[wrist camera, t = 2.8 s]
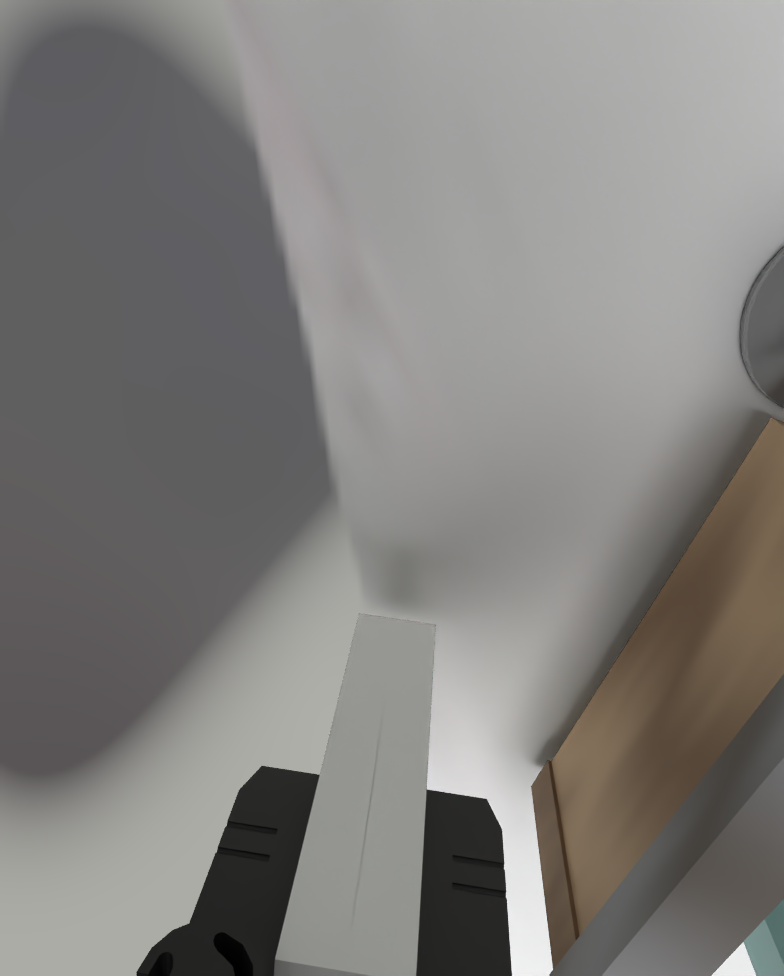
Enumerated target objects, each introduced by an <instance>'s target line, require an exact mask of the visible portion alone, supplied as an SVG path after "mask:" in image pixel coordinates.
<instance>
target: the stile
mask: <svg viewBox="0 0 784 976" xmlns="http://www.w3.org/2000/svg"><path fill="white" fill-rule="evenodd" d="M744 944H745V947H746V949H747V952H748V955H749V957H750V960H751V963H752V965H753V968H754V970H755V973H756V976H784V899H783V900H782V901H781V902H780V903H779V904H778V905H777V907H776V908H775V909H774V910H773V911H772V912H771V913H770V914H769V915H768V916H767V917H766V918H765V919H764V920H763V921H762V922H761V923H760V924H759V926H758V927H757V928H756V929H755V930H754V931H753V932H752V933H751V934H750V935H749V936H748V937H747V938H746V939H745V940H744Z"/></svg>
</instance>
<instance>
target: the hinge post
mask: <svg viewBox="0 0 784 976" xmlns="http://www.w3.org/2000/svg"><path fill="white" fill-rule="evenodd" d="M740 344H741V352H742V356H743V360H744V364H745V366H746V368H747V371H748V373H749V375H750V377H751V378H752V380H753V381H754V383H755V384H756V386H757V387H758V388H759V389H760V390H761V391H762V392H763V393H764V394H765V395H766V396H767V397H769V398H770V399H771V400H772V401H774V402H775V403H777V404H778V405H780V406H781V407H783V408H784V247H783V248H782V249H781V250H780V251H779V252H778V253H777V254H776V255H775V256H774V257H773V258H772V259H771V260H770V261H769V263H768V264H767V265H766V267H765V268H764V269H763V271H762V272H761V274H760V275H759V277H758V279H757V280H756V282H755V284H754V285H753V287H752V289H751V292H750V294H749V296H748V299H747V301H746V304H745V308H744V311H743V315H742V321H741V327H740Z"/></svg>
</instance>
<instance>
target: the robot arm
mask: <svg viewBox="0 0 784 976" xmlns="http://www.w3.org/2000/svg"><path fill="white" fill-rule="evenodd" d="M435 628H436V625H433V624H426V623H419V622H413V621H406V620H399V619H392V618H386V617H379V616H372V615H365V614H359V616H358V620H357V624H356V628H355V632H354V636H353V640H352V645H351V649H350V653H349V657H348V661H347V665H346V669H345V673H344V677H343V682H342V686H341V690H340V694H339V698H338V702H337V706H336V710H335V715H334V719H333V723H332V727H331V731H330V735H329V739H328V743H327V747H326V751H325V755H324V760H323V764H322V768H321V772H320V775H317V774H311V773H304V772H298V771H292V770H285V769H279V768H272V767H266V766H261V767H260V769H259V770H258V771H257V772H256V773H255V774H254V775H253V776H252V777H251V778H250V779H249V780H248V781H247V782H246V784H244V785H243V787H242V788H241V789H240V790H239V792H238V795H237V797H236V800H235V803H234V805H233V808H232V811H231V814H230V816H229V819H228V823H227V826H226V827H225V829H224V832H223V835H222V838H221V840H220V843H219V846H218V850H217V853H216V854H215V856H214V859H213V862H212V865H211V867H210V870H209V872H208V875H207V878H206V880H205V883H204V886H203V889H202V891H201V894H200V897H199V899H198V902H197V904H196V907H195V910H194V913H193V915H192V918H191V920H190V923H189V924H187V925H185V926H182V927H179V928H177V929H174V930H172V931H171V932H170V933H169V934H168V935H167V936H165V937H164V938H163V939H162V940H161V941H159V942H158V943H157V944H156V945H155V946H154V947H152V948H151V950H150V951H149V953H148V955H147V956H146V958H145V960H144V961H143V963H142V964H141V966H140V967H139V969H138V971H137V976H512V971H511V956H510V942H509V927H508V912H507V898H506V883H505V870H504V853H503V838H502V829H501V827H500V825H499V823H498V821H497V819H496V817H495V815H494V813H493V811H492V809H491V807H490V805H489V803H488V801H487V799H483V798H477V797H470V796H464V795H457V794H451V793H445V792H438V791H432V790H427V772H428V754H429V736H430V718H431V700H432V682H433V664H434V646H435Z"/></svg>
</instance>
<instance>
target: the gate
mask: <svg viewBox="0 0 784 976" xmlns="http://www.w3.org/2000/svg"><path fill="white" fill-rule="evenodd" d="M531 788H532V796H533V804H534V813H535V821H536V829H537V838H538V846H539V854H540V863H541V871H542V880H543V888H544V896H545V905H546V913H547V921H548V930H549V938H550V946H551V955H552V963H553V971H552V972H551V973H550V976H711V975H712V974H713V973H714V972H715V971H716V970H717V969H718V968H719V967H720V966H721V965H722V964H723V962H724V961H725V960H726V959H727V958H728V957H729V956H730V955H731V954H732V953H733V952H734V951H735V950H736V949H737V948H738V947H739V946H740V945H741V943H742V942H743V941H744V940H745V939H746V938H747V937H748V936H749V935H750V934H751V933H752V932H753V931H754V930H755V929H756V928H757V927H758V926H759V924H760V923H761V922H762V921H763V920H764V919H765V918H766V917H767V916H768V915H769V914H770V913H771V912H772V911H773V910H774V909H775V908H776V907H777V905H778V904H779V903H780V902H781V901H782V900H783V899H784V422H781V421H779V420H776V419H774V418H771V419H770V420H769V422H768V423H767V425H766V427H765V428H764V430H763V431H762V433H761V434H760V436H759V437H758V439H757V441H756V442H755V444H754V445H753V447H752V448H751V450H750V452H749V453H748V455H747V456H746V458H745V459H744V461H743V462H742V464H741V466H740V467H739V469H738V470H737V472H736V473H735V475H734V477H733V478H732V480H731V481H730V483H729V484H728V486H727V488H726V489H725V491H724V492H723V494H722V495H721V497H720V498H719V500H718V502H717V503H716V505H715V506H714V508H713V509H712V511H711V513H710V514H709V516H708V517H707V519H706V520H705V522H704V523H703V525H702V527H701V528H700V530H699V531H698V533H697V534H696V536H695V538H694V539H693V541H692V542H691V544H690V545H689V547H688V549H687V550H686V552H685V553H684V555H683V556H682V558H681V559H680V561H679V563H678V564H677V566H676V567H675V569H674V570H673V572H672V574H671V575H670V577H669V578H668V580H667V581H666V583H665V585H664V586H663V588H662V589H661V591H660V592H659V594H658V595H657V597H656V599H655V600H654V602H653V603H652V605H651V606H650V608H649V610H648V611H647V613H646V614H645V616H644V617H643V619H642V620H641V622H640V624H639V625H638V627H637V628H636V630H635V631H634V633H633V635H632V636H631V638H630V639H629V641H628V642H627V644H626V646H625V647H624V649H623V650H622V652H621V653H620V655H619V656H618V658H617V660H616V661H615V663H614V664H613V666H612V667H611V669H610V671H609V672H608V674H607V675H606V677H605V678H604V680H603V681H602V683H601V685H600V686H599V688H598V689H597V691H596V692H595V694H594V696H593V697H592V699H591V700H590V702H589V703H588V705H587V707H586V708H585V710H584V711H583V713H582V714H581V716H580V717H579V719H578V721H577V722H576V724H575V725H574V727H573V728H572V730H571V732H570V733H569V735H568V736H567V738H566V739H565V741H564V742H563V744H562V746H561V747H560V749H559V750H558V752H557V753H556V755H555V757H554V758H553V760H552V761H549V760H548V761H547V762H546V764H545V765H544V767H543V769H542V770H541V772H540V773H539V775H538V776H537V778H536V780H535V781H534V783H533V784H532V786H531Z"/></svg>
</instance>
